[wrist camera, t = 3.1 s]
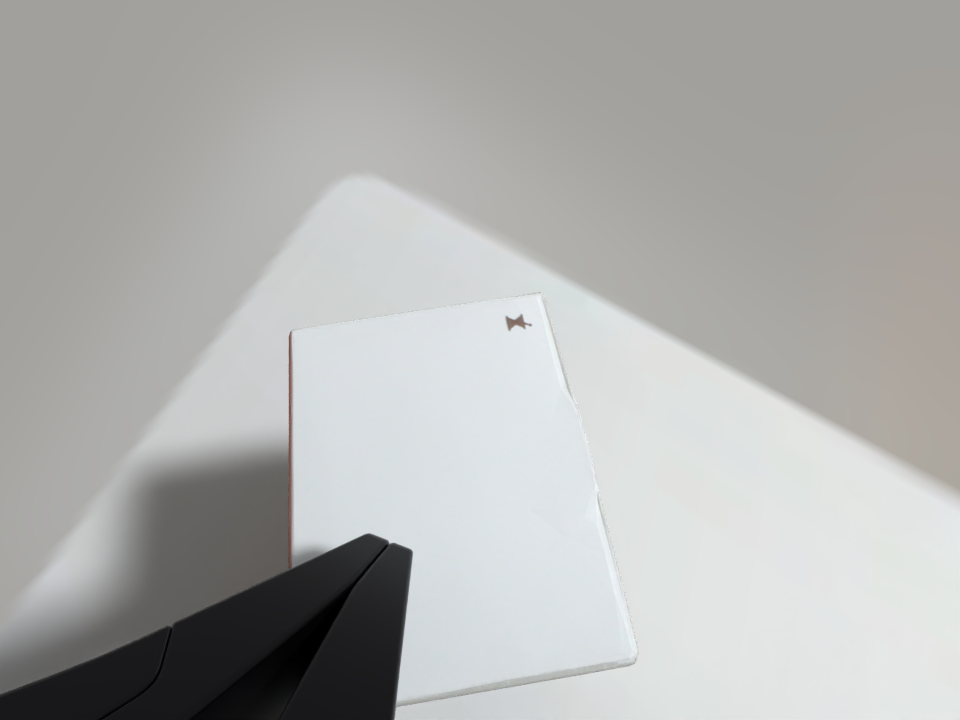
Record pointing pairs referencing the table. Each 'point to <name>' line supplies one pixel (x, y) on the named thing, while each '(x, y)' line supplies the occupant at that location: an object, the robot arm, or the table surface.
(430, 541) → the small box
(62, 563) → the table surface
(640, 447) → the table surface
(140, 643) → the robot arm
